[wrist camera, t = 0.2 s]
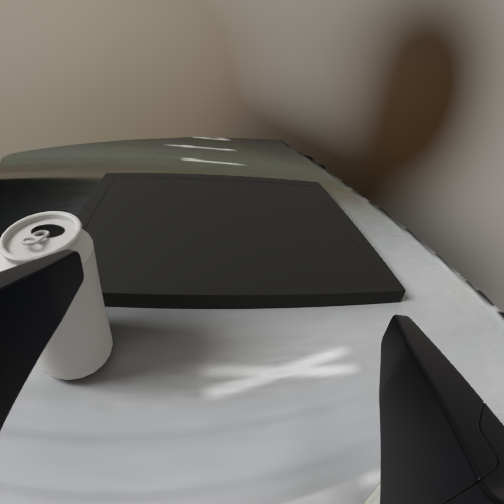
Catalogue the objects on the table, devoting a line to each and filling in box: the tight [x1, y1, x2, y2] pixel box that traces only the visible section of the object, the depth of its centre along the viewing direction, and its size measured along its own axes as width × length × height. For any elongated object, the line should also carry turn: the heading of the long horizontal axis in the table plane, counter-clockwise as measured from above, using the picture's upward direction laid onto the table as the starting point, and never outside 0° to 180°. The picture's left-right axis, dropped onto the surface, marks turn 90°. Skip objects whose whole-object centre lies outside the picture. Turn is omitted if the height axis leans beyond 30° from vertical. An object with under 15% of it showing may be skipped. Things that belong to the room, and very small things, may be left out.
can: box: [0, 211, 113, 380], centre depth 21 cm, size 8×8×12 cm
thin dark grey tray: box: [77, 173, 406, 309], centre depth 45 cm, size 40×2×33 cm
